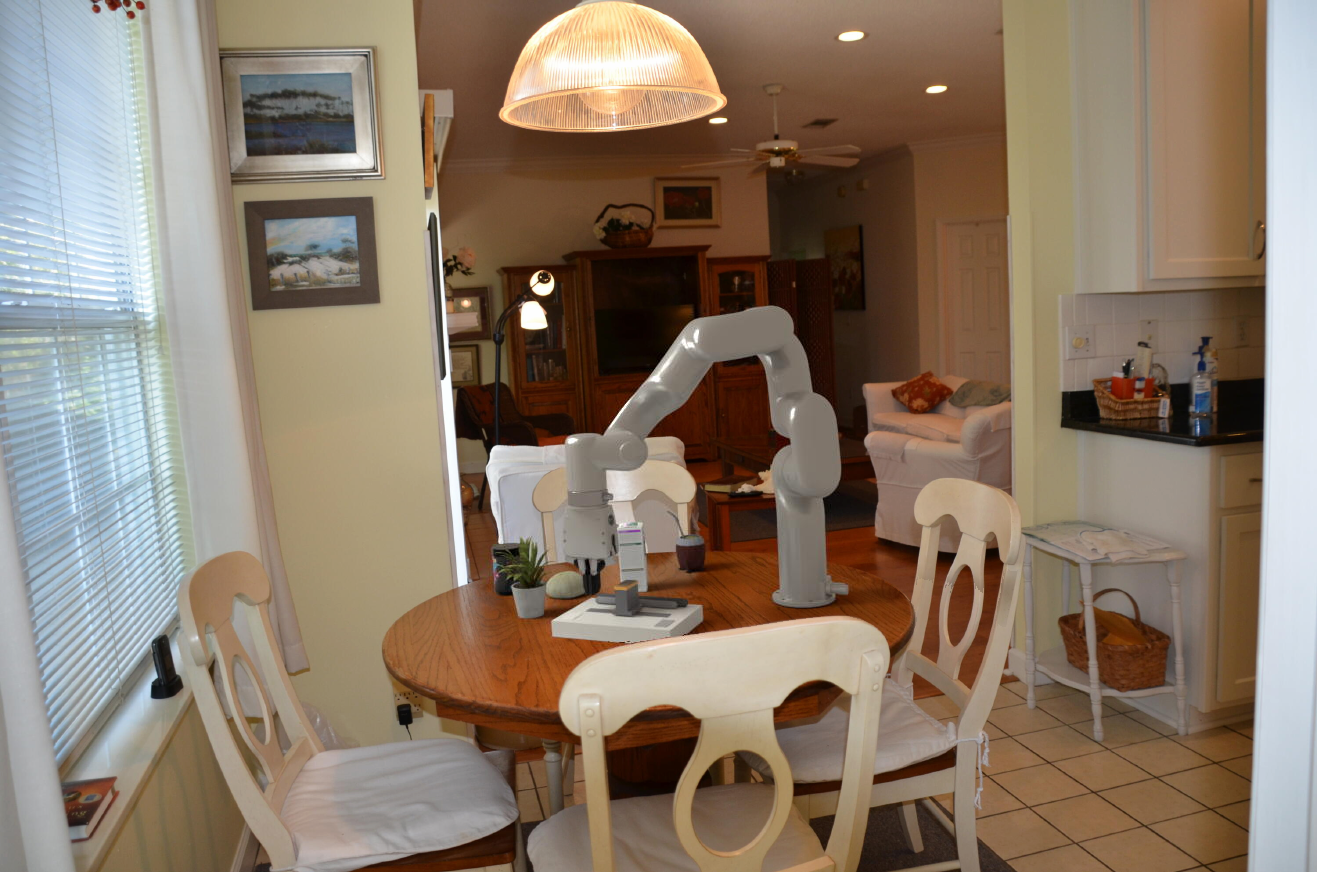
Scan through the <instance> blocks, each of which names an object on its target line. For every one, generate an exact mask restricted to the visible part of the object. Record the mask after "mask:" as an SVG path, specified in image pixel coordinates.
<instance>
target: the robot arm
mask: <svg viewBox="0 0 1317 872" xmlns="http://www.w3.org/2000/svg"><path fill="white" fill-rule="evenodd" d="M794 325H795V324H794V321H793V318H792V317H791V314H789V312H788V311H787V310H785V309H783V308H781V307H779V306H778V305H777V306H775V305H766V306H765V305H764V306H757V307H756V306H755V307H749V308H747V309H745V310H743V311H739V312H734V313H726V314H721V315H713V316H704V317H698V318H695V319H693V320H691V321H690V322H689V323H688V324H687V325H686V326H685V327H684V328H683V329H682V331H681V332H680V333H679V334H678V336H677V337H676V339H675V340H674V341H673V343H672V345H671V346H669V349H668V350H667V352H666V353H665V355H664V356H663V357H662V358H661V359H660V362H659V363H658V364H657V365H656V367H655V369H654V370H653V371H652V373H651V374H650V375H649V376H648V378H647V379H646V380H645V381H644V382H643V383H642V384H641V386H639V388H638V389H637V390H636V392H634V394H633V395H632V396H631V397H630V398H629V400H627V402H626V403H625V404H624V406H623V407H622V408H621V409H620V410H619V412H618V414H617V415H616V416H615V418H614V419H613V421H612V422H611V423H610V425H609V426H608V427H607V429H606V430H605V431H604V434H603V435H602V434H599V433H593V432H592V433H591V432H590V433H587V432H585V433H576V434H575V433H574V434H571V435H568V436H567V437H566V439H565V442H564V454H565V455H564V456H565V457H564V458H565V470H566V471H565V473H566V485H567V486H566V489H567V490H566V492H567V493H566V494H567V505H566V506H565V509H564V513H563V514H564V515H563V523H562V551H563V554H564V555H565V556H564V562H566V563H569V564H571V565H574V566H575V567H576V568H577V569H578V570H579V574H580V575H582V576H583V588H584V589H585V593H584V595H585V596H592V597H593V596H595V595H596V594H599V593H601V592H600V591H601V588H602V585H601V583H602V581H601V572H602V571H603V570H604V569H605V568H606V567H608V566H612V565H613V566H614V565H616V564H617V563H618V559H617V555H618V554H619V553H618V552H619V541H618V532H617V527H618V526H617V519H616V515H615V511H614V509H613V505H612V504H609V502H610V501H613V500H614V494H613V493H610V492H609V490H608V484H607V483H608V482H607V480H608V479H607V471H613V472H615V471H617V472H632V471H636V470H638V469H640V468H641V467H642V466H643V465H644V464H645V463H646V461H647V459H648V455H649V447H648V444H647V442H646V438H647V437H648V435H649V434H650V433H651V432H652V431H653V429H654V428H655V427H656V426H657V425H658V423H659V422H661V421H662V420H663V419H665V417H666V416H668V415H670V414H671V413H673V412H675V411H676V410H678V409H680V408H681V407H682V406H683V405H684V404H685V403H687V401H688V400H689V398H690V396H692V394H693V392H695V389H696V388H697V387H698V385H699V384H700V382H701V381H702V379H703V378H704V376H705V375H706V374H707V373H708V371H709V369H710V368H711V367H712V366H713V364H714V363H716V362H717V363H719V362H725V361H731V360H732V361H734V360H737V359H742V358H743V359H744V358H748V357H753V356H757V357H758V358H759V359H760V361H761V363H762V365H763V367H764V370H765V376H766V381H767V391H768V399H769V406H770V407H769V408H770V410H769V411H770V419H771V424H772V426H773V427H772V428H773V429H774V430H775V431H776V433H777V434H779V435H780V436H783V437H785V438H788V439H789V440H790V444H788V445H786V446H784V447H782V448H781V449H780V450H779V451H777V453H776V454H775V456H774V457H773V460H772V464H771V480H772V487H773V493H774V498H775V508H776V523H777V524H776V527H777V529H776V530H777V551H778V554H777V555H778V573H779V574H778V575H779V589H777V590H775V591H774V592H773V593H772V601H773V602H774V603H776V604H778V605H779V606H784V607H789V608H801V609H802V608H816V607H822V606H826V605H830V604H831V603H832V604H833V603H834V601H835V600H836V595H837V594H838V595H841V596H843V595H844V596H845V595H846V596H848V594H849V591H850V589H849V585H848V584H846V583H845V582H834V581H833V580H832V575H829V574H828V571H827V547H826V545H827V543H826V540H827V539H826V515H825V505H824V500H823V498H826V497H828V496H830V495H831V494H832V493H833V492H835V490H836V489H837V488H838V486H839V482H840V480H841V475H842V464H841V463H842V462H841V461H842V460H841V452H840V441H839V430H838V423H837V417H836V413H835V411H834V408H833V406H832V405H831V403H830V402H829V400H828V399H827V398H825V397H824V396H822V394H821V395H820V393H819V394H818V393H816V392H814V391H813V385H812V380H811V379H812V378H811V372H810V367H809V362H808V361H809V360H808V357H807V353H806V351H805V348H804V346H803V345H802V343H801V341H800V340H799V338H798V337H797V336H796V335H795V334H794V332H795V331H794V330H795V327H794Z"/></svg>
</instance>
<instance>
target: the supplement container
mask: <svg viewBox="0 0 1317 872" xmlns="http://www.w3.org/2000/svg"><path fill="white" fill-rule="evenodd" d="M519 544H520V542H519V543H518V542H507V543H506V542H504V543H498V544H496V545H492V546H491V558H492V566H493V567H492V569H493V583H494V592H495V594H497V595H499V594H500V595H499V596H513V591H512V587H511V586H512V585H513V584H515V583H518V582H519V581H518V580H517V579H516V580H515V581H514V576H512V577H510V578H508V579H507V577H508V575H511V574H510V573H509V572H508V571H507V570H505V571H502V572H500V573H498V572H499V571H501V570H502V569H505V568H503V567H502V566H504V567H505V566H509V565H514V564H513V563H512V562H511V561H510V560H509V559H508V558H507V557H505V556H508V555H506V554H509V555H511V554H512V555H513V556H514V558H515V559H516V560H517V562H518V563H519V564H520V563H522V562H521V559H520V554H519ZM499 545H501V546H503V547H505V548H506V549H508V550H509V552H510V553H511V554H510V553H509V552H508V551H506V549H505V548H503V547H501V546H499ZM504 549H505V550H504ZM495 552H501V553H495ZM504 553H506V554H504ZM501 555H505V556H501ZM508 557H509V556H508ZM509 558H511V557H509ZM511 559H512V558H511ZM512 560H513V559H512ZM513 561H514V560H513ZM514 563H515V564H516V565H517V563H516V562H515V561H514ZM499 565H502V566H499ZM506 568H507V567H506ZM507 569H511V570H514V571H515V572H516V573H518V574H520V573H519V572H518V570H517V569H516V568H507ZM511 570H509V571H510V572H512V573H514V574H516V573H515V572H514V571H511ZM519 570H520V572H521V573H522V571H521V569H519ZM522 574H523V573H522Z"/></svg>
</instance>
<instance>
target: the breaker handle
mask: <svg viewBox="0 0 1317 872" xmlns="http://www.w3.org/2000/svg"><path fill="white" fill-rule="evenodd" d="M613 590H614V594H615V603H616V608H615V609H613V610H612V614H613V615H626V616H632V615H634V614H635V613H637V612H638V611H640V610H641V609H643V604H639V598H638V596H639V592H638V580H625V581H623V582H621V581H620V583H618V584H616V585H615V586H613Z"/></svg>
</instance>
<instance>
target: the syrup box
mask: <svg viewBox="0 0 1317 872" xmlns="http://www.w3.org/2000/svg"><path fill="white" fill-rule="evenodd" d="M617 532H618V541H619V552H618V553H617V554H618V564H619V575H620V576H619V577H620V583H621V582H623V581H625V580H638V593H646V592H648V588H649V578H648V577H649V576H648V561H647V550H646V549H647V547H646V535H645V534H646V533H645V523H644V522H643V521H628V522H621V523H618V526H617Z"/></svg>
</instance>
